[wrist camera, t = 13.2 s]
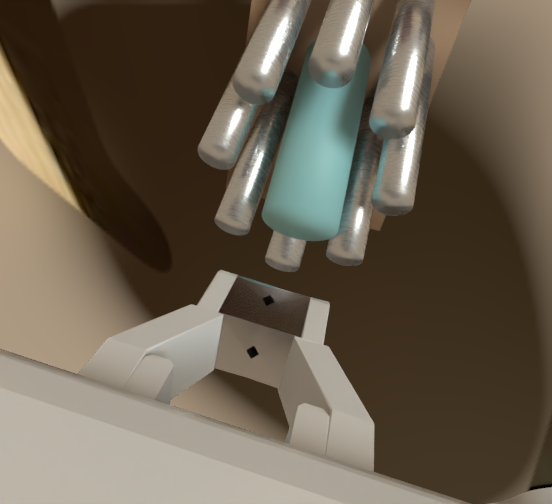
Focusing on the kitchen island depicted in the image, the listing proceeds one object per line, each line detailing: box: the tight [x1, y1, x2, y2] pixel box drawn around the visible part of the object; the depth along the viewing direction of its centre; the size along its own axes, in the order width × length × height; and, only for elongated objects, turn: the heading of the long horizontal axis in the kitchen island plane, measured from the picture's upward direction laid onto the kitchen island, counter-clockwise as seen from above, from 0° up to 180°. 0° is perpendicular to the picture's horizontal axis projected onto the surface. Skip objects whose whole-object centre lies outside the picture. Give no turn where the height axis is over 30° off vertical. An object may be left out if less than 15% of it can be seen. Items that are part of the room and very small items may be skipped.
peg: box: [262, 39, 371, 241], centre depth 18 cm, size 3×3×9 cm
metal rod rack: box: [198, 0, 436, 272], centre depth 19 cm, size 15×9×11 cm, turn 168°
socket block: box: [226, 0, 471, 231], centre depth 22 cm, size 16×10×3 cm, turn 168°
